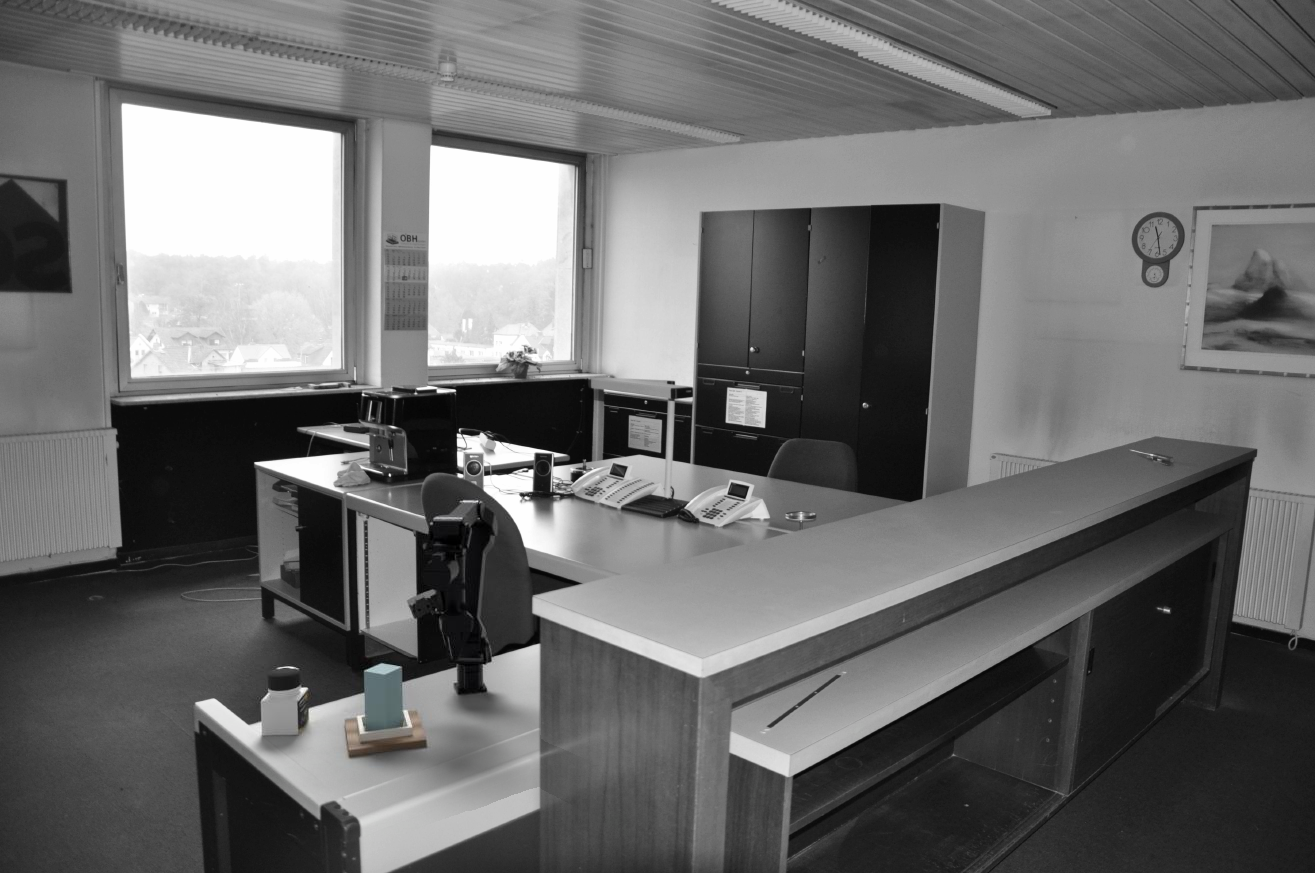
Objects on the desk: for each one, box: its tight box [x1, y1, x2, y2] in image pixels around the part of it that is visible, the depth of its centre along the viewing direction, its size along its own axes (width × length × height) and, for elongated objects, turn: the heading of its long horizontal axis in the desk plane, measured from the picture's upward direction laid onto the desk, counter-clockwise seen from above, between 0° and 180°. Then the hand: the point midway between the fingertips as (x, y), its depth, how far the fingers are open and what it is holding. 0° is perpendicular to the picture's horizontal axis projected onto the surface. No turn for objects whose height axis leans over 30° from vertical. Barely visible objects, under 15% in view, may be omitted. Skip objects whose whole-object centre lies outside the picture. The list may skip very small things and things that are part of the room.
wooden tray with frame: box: [344, 709, 428, 757], centre depth 185 cm, size 16×14×3 cm
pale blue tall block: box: [363, 663, 404, 732], centre depth 185 cm, size 5×5×12 cm
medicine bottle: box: [260, 666, 310, 737], centre depth 188 cm, size 7×7×12 cm
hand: (451, 652), depth 195 cm, fingers open, 9 cm apart
